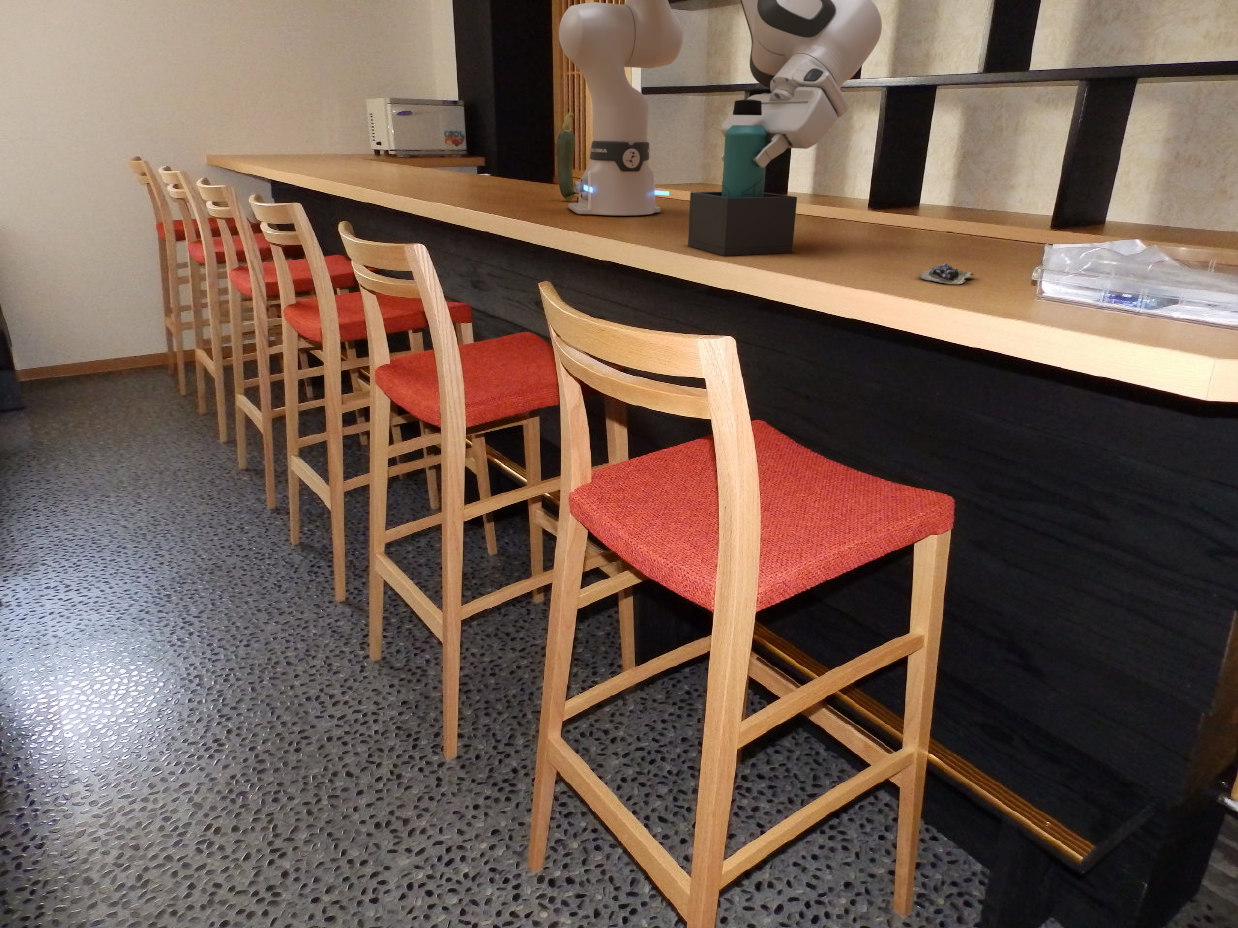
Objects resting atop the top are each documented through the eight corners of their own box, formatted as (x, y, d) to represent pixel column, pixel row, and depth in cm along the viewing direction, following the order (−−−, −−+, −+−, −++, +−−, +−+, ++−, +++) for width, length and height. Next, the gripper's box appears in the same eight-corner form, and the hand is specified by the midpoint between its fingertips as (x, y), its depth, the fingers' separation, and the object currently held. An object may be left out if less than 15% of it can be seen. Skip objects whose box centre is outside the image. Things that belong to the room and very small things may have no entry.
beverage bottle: (760, 246, 124) (771, 99, 117) (715, 244, 126) (723, 98, 118) (762, 240, 130) (773, 100, 123) (719, 238, 132) (727, 99, 124)
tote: (687, 245, 131) (690, 192, 128) (752, 243, 135) (755, 191, 132) (724, 256, 121) (727, 198, 118) (792, 252, 125) (797, 197, 122)
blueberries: (971, 275, 108) (974, 260, 107) (982, 286, 101) (984, 270, 100) (916, 273, 109) (918, 258, 109) (923, 283, 102) (925, 267, 101)
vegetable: (555, 202, 202) (554, 111, 194) (559, 200, 206) (558, 112, 198) (573, 202, 201) (573, 112, 194) (577, 201, 205) (576, 112, 198)
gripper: (747, 78, 131) (691, 145, 130) (836, 72, 114) (771, 148, 113) (768, 110, 134) (713, 175, 134) (857, 108, 117) (795, 183, 117)
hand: (741, 163), depth 123 cm, fingers closed on beverage bottle, 6 cm apart
